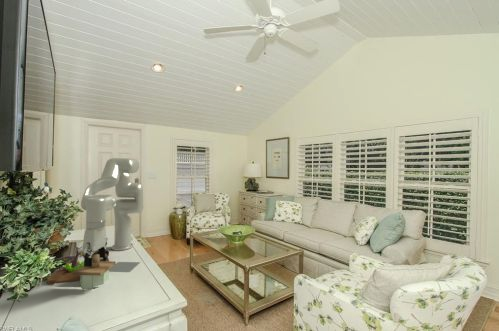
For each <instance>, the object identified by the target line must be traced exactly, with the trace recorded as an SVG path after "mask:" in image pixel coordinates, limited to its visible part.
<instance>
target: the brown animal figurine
mask: <svg viewBox="0 0 499 331" xmlns="http://www.w3.org/2000/svg"><path fill="white" fill-rule="evenodd" d="M96 254H98V250H96V251H94V252H93V254H92V255H96ZM109 255H110V251H109V250H108V249H106V252H105V258H102V260H103V261H110V259H109Z"/></svg>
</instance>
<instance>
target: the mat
mask: <svg viewBox="0 0 499 331" xmlns="http://www.w3.org/2000/svg"><path fill="white" fill-rule="evenodd" d="M140 263H141V261H138V262H136V261H118V262H116V264H115V265H114V266H112V267H111V268H110V269H109V273H110V272H111V273H112V272H114V273H130V272H132V270H134V269H135V268H136V267H138V266H139V264H140Z"/></svg>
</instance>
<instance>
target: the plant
mask: <svg viewBox="0 0 499 331" xmlns="http://www.w3.org/2000/svg"><path fill="white" fill-rule="evenodd" d="M78 256H80V257H83V256H82V252H77V253H76V254H75V256H74V258H73V257H71V256H69V255H68V256H64V257H63V261H66V260H67V259H70V260H69V261H67V262H66V263H65V264H64V265H62V266H61V267H65V268H63V269H59V268H58V269H59V270H58V269H56V270H54V271H53V272H52V273H51V274H50V275H51V276H49V275H48V276H49V277H48V276H47V278H46V283H47V285H48V286H49V285H50V284H51V285H55V284H63V283H64V284H65V283H72V282H80V275H73V272H74V271H75V270H77V269H79V268H80V267H82V266H83V265H84V260H83V261H82V262H80V260H79V259H78Z"/></svg>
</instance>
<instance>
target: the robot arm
mask: <svg viewBox="0 0 499 331" xmlns="http://www.w3.org/2000/svg"><path fill="white" fill-rule="evenodd" d="M139 168H140V162H139V159H137V158H129V157H127V158H121V157H113V158H108V160H107V161H106V163H105V165H104V168H103V171H102V173H101V176H100V177H99V178H98V179H96V180H95V181H93V182H92V183H90V184H89V185H88V186H87V187H86V188H85V190H84V193H83V194H82V197H81V201H80V207H81V209H82V210H83V211H85V212H86V213H85V215H86V217H85V219H86V220H85V230H84V234H83V241H82V249H81V250H80V253H82V256H81V257H83V261H84V266H85V267H91V266H92V257H91V256H92V254H93V253H95V252H96V251H98V254H99V255H100V259H103V258H105V252H106V250H107V245H108V240H109V238H108V237H107V231H106V221H107V218H106V217H107V214H106V213H107V211H111V210H113V213H114V234H113V235H114V238H113V239H114V240H113V241H114V243H113V245H111V250H113V251H117V252H119V251H126V250H129V249H132V248H133V247H134V243H132V240H133V239H134V238H133V237H132V236H131V235H132V218H131V217H130V216H129V215H130V214H140V213H142V212H143V209H144V189H143V188H144V187H143V185H142V184H141V183H138V182H131V176H130V174H135V173H137V172H138V170H139ZM113 187H115V195H116V197H117V198H119V199H116V197H115V196H114V195H112V194H111V195H110V194H97V193H99V192H101V191H105V190H108V189H110V188H113Z"/></svg>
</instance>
